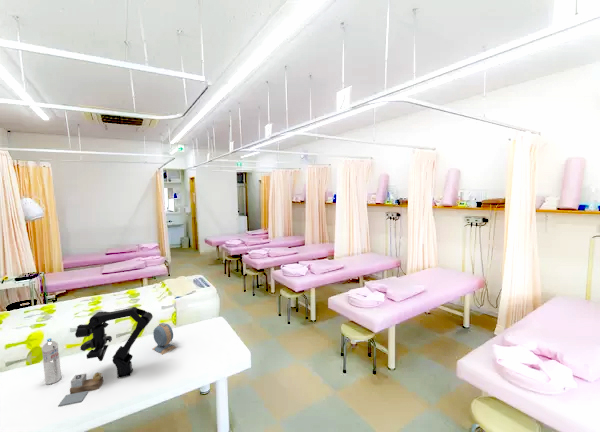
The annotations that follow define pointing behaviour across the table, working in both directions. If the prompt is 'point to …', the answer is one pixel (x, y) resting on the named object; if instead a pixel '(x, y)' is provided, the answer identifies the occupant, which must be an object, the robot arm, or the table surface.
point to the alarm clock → (163, 338)
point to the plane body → (87, 386)
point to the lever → (97, 376)
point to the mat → (73, 398)
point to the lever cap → (78, 380)
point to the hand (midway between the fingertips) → (101, 360)
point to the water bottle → (51, 362)
